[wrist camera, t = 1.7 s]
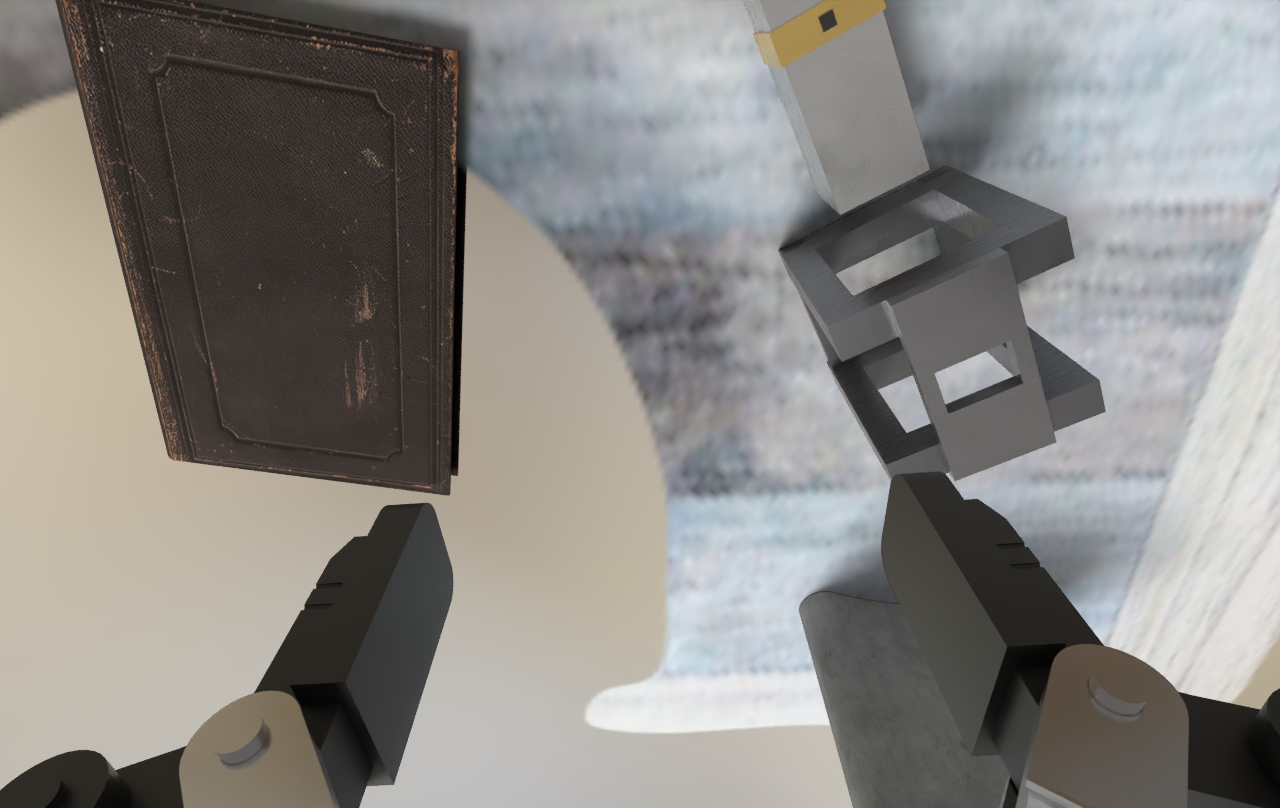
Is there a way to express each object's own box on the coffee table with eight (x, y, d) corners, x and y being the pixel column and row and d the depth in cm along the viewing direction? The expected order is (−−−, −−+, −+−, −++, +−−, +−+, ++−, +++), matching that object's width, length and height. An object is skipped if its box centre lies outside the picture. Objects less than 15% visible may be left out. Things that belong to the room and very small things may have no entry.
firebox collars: (946, 165, 30) (1076, 221, 21) (989, 318, 33) (1115, 419, 25) (778, 250, 32) (831, 333, 23) (836, 384, 35) (902, 501, 27)
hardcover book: (470, 50, 28) (457, 51, 26) (458, 473, 39) (448, 496, 37) (82, -22, 27) (37, -27, 25) (186, 437, 38) (161, 459, 36)
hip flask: (1030, 606, 44) (1282, 975, 27) (1008, 646, 46) (1228, 1012, 29) (805, 589, 43) (914, 958, 26) (791, 630, 45) (885, 997, 28)
